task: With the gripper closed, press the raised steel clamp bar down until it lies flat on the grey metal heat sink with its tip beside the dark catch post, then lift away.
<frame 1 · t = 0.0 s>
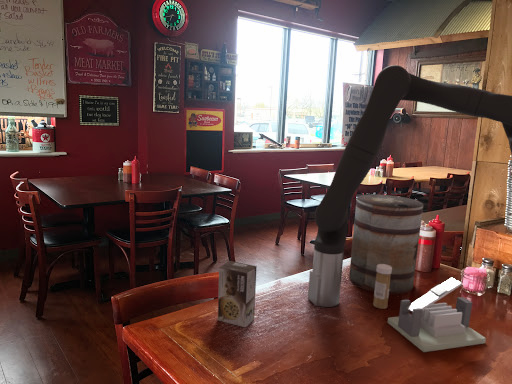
barrel: (380, 281, 157), on the table
board: (434, 332, 122), on the table
clamp bar: (433, 295, 119), point 11 cm above the table, hinge at 28.0°
sprinkles bottle: (379, 306, 137), on the table
coffee box: (235, 320, 123), on the table
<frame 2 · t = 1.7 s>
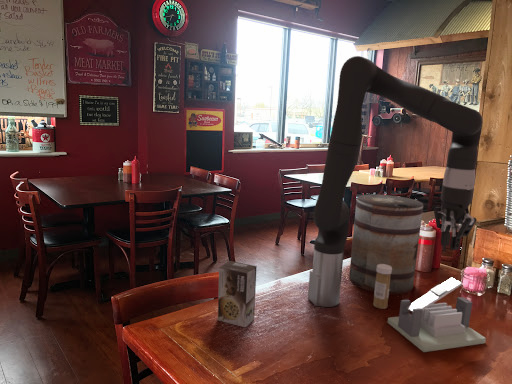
hand: (449, 247, 117), 25 cm above the table, tool pointing down, fingers open, 3 cm apart
nothing on the table moved.
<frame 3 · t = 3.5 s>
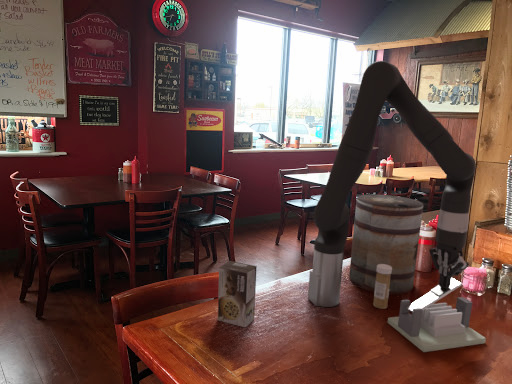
hand: (444, 287, 119), 14 cm above the table, tool pointing down, fingers closed
clamp bar: (433, 295, 119), point 11 cm above the table, hinge at 27.6°, touching gripper
everything else where it was.
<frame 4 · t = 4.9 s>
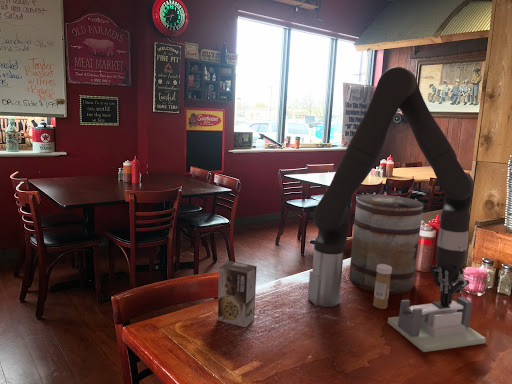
hand: (445, 304, 120), 8 cm above the table, tool pointing down, fingers closed
clamp bar: (435, 307, 120), point 8 cm above the table, hinge at 1.0°, touching gripper
everything else where it was.
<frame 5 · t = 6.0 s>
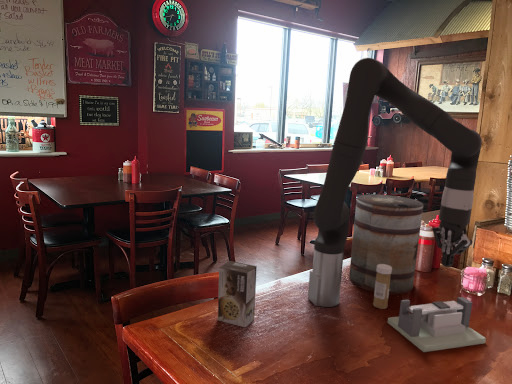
hand: (446, 266, 118), 20 cm above the table, tool pointing down, fingers closed
clamp bar: (435, 307, 120), point 8 cm above the table, hinge at 0.8°
everything else where it was.
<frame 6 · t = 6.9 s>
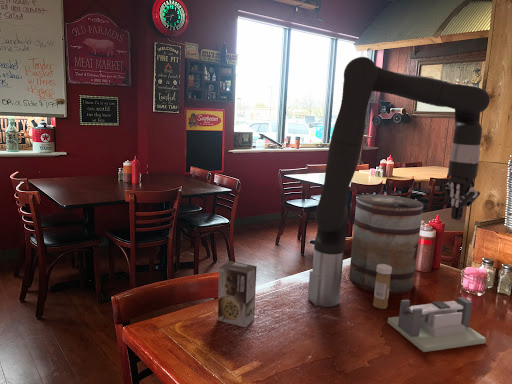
hand: (456, 219, 126), 31 cm above the table, tool pointing down, fingers closed
nothing on the table moved.
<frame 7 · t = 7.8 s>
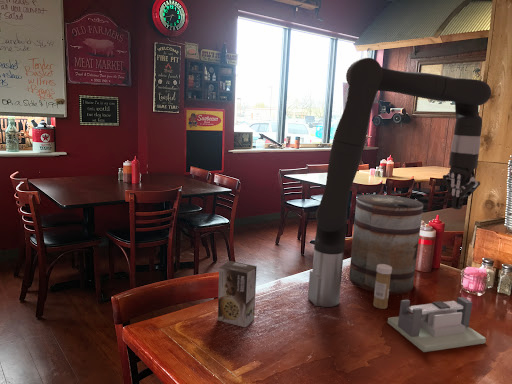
hand: (456, 208, 129), 33 cm above the table, tool pointing down, fingers closed
nothing on the table moved.
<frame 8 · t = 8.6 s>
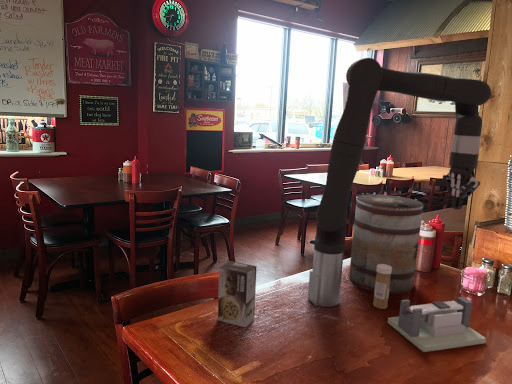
hand: (456, 208, 129), 33 cm above the table, tool pointing down, fingers closed
nothing on the table moved.
at the end: clamp bar at +1° (first picture: +28°); sprinkles bottle moved 0.2 cm from its start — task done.
